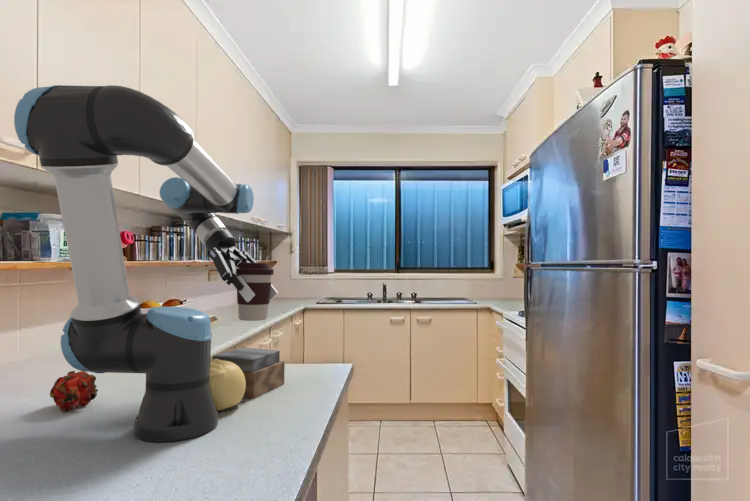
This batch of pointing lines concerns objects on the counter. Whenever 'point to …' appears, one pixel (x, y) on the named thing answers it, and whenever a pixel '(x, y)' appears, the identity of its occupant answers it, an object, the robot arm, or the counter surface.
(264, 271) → the coffee cup
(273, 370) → the gray topped wooden block
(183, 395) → the robot arm
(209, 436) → the counter surface
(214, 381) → the pale yellow round lump
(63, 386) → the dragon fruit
